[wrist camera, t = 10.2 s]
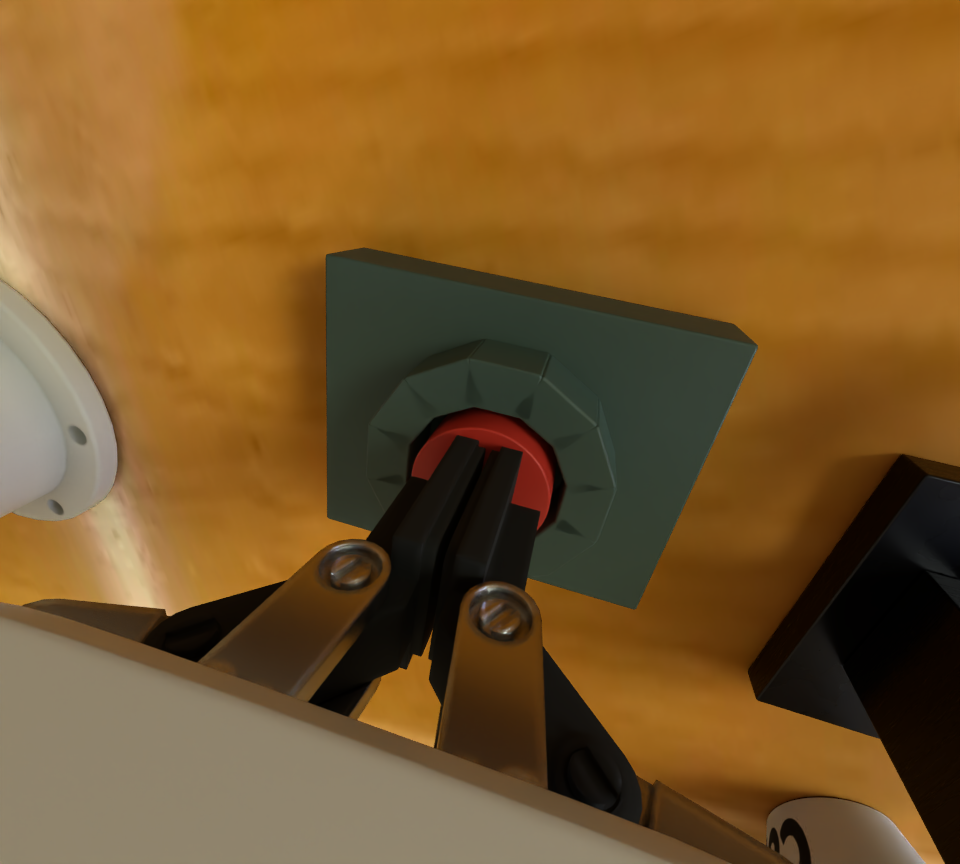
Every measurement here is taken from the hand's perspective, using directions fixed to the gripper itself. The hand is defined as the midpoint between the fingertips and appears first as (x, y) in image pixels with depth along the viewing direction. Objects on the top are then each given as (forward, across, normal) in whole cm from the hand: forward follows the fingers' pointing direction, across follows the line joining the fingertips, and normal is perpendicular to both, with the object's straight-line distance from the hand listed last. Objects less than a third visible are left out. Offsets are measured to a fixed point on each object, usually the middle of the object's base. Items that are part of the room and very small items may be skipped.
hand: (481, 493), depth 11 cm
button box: (+4, 0, 0) cm, 5 cm away
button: (+2, 0, 0) cm, 2 cm away
